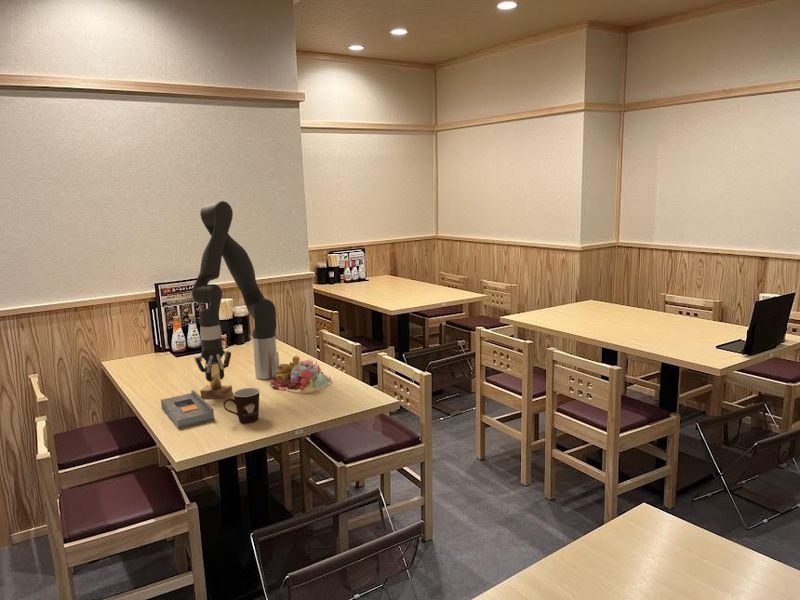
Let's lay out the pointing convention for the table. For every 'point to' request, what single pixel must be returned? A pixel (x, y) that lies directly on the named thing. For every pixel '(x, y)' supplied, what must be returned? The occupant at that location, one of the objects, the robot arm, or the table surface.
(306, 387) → the candy landscape model
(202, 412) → the rack plate
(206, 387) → the brown wooden block
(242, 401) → the coffee mug
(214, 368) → the brass peg
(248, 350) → the table surface
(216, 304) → the robot arm
